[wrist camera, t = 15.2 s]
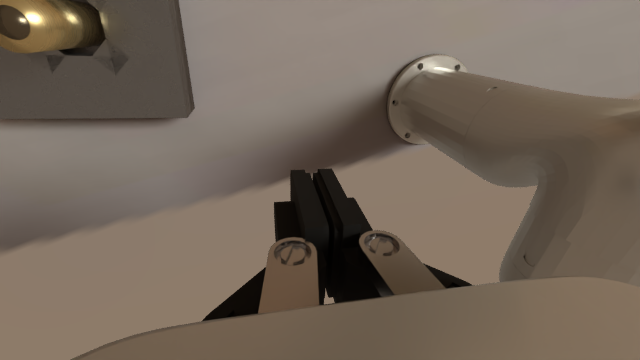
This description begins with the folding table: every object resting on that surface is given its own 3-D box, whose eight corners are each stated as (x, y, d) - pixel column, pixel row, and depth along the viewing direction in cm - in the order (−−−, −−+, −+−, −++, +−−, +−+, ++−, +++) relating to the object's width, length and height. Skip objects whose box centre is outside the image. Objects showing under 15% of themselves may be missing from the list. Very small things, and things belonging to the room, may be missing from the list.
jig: (167, -75, 29) (145, -100, 23) (194, 108, 37) (183, 122, 31) (-56, -99, 26) (-145, -135, 20) (28, 108, 34) (-18, 124, 28)
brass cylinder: (100, 2, 29) (32, -9, 20) (111, 47, 31) (53, 54, 22) (53, 0, 28) (-38, -13, 20) (67, 45, 30) (-10, 52, 21)
